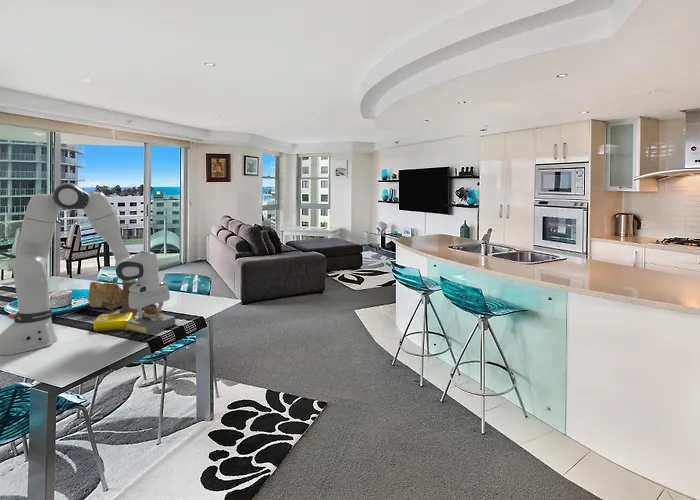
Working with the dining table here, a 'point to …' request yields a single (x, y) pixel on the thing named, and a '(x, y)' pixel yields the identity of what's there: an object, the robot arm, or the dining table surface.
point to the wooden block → (126, 296)
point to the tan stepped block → (152, 316)
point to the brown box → (150, 309)
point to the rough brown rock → (105, 295)
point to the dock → (149, 324)
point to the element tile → (112, 321)
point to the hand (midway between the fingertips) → (150, 313)
